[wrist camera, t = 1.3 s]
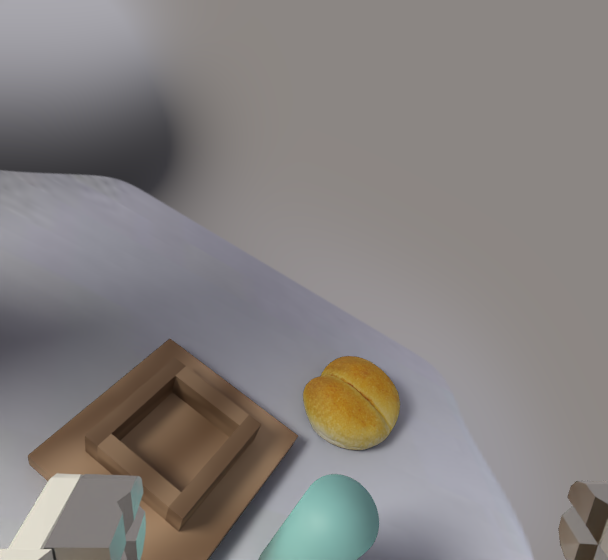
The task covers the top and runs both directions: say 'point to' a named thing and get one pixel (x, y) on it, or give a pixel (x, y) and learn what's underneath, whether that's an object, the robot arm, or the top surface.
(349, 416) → the bread roll
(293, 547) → the teal post
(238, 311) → the top surface
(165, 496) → the walnut base
